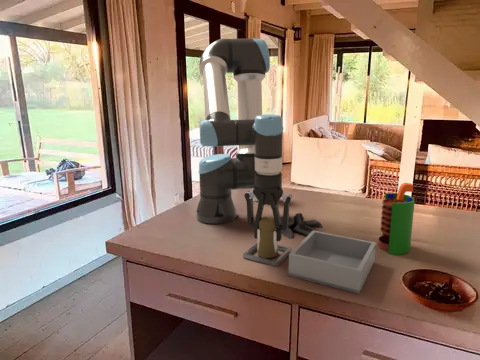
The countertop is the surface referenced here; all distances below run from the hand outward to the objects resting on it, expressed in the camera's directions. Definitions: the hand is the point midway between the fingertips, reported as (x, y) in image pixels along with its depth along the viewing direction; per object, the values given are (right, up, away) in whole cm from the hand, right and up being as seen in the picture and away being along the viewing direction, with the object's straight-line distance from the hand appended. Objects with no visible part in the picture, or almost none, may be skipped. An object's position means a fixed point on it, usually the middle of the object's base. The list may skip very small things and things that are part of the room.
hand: (267, 249), depth 106 cm
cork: (0, -1, 0) cm, 1 cm away
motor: (+38, 0, +4) cm, 39 cm away
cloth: (+11, +3, +19) cm, 22 cm away
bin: (+17, -4, -8) cm, 19 cm away
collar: (0, -2, 0) cm, 2 cm away
